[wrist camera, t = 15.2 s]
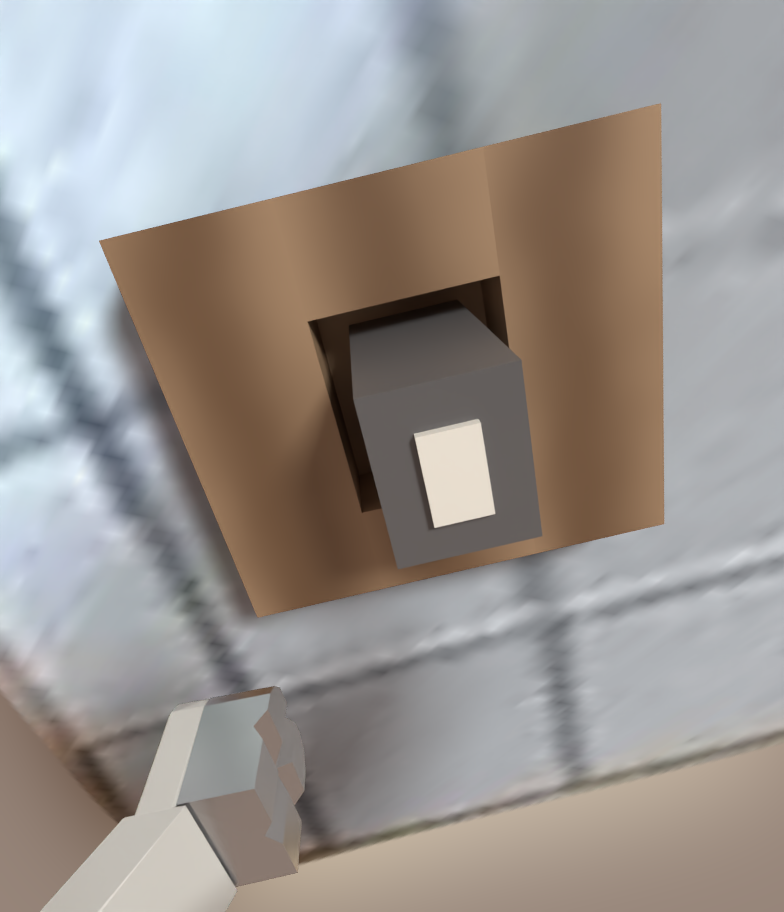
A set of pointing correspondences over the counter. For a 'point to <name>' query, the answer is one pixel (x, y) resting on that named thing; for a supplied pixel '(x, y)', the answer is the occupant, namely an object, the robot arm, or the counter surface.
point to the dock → (400, 290)
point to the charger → (444, 432)
